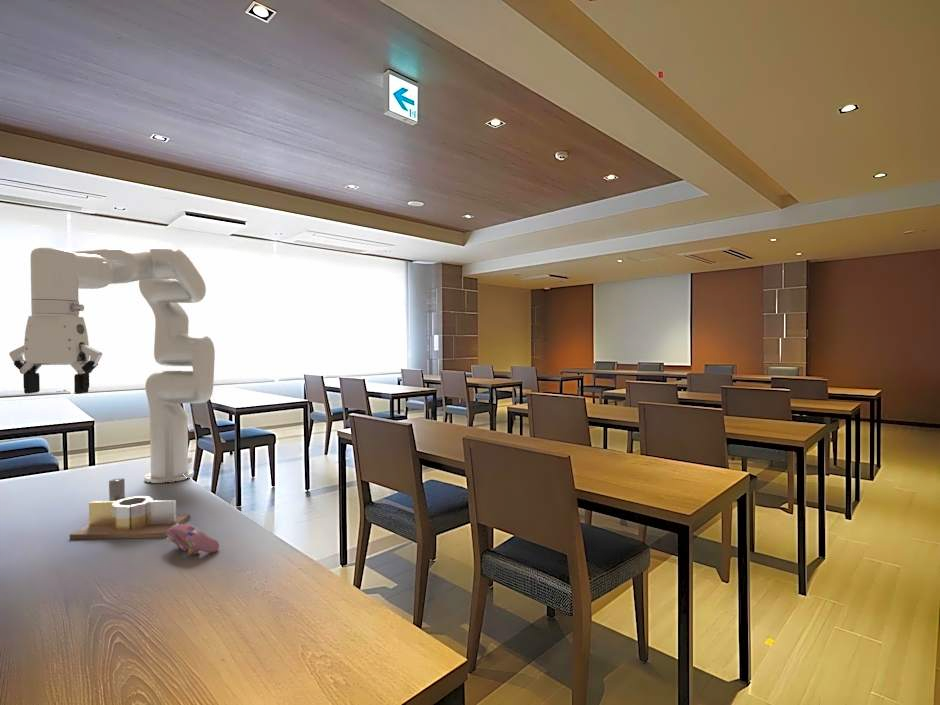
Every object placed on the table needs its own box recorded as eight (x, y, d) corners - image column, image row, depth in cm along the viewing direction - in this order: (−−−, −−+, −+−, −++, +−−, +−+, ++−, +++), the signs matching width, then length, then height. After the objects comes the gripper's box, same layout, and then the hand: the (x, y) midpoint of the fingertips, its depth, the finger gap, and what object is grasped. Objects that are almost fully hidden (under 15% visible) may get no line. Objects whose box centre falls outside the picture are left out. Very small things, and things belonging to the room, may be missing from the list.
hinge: (101, 518, 114) (101, 496, 114) (183, 517, 115) (182, 495, 115) (79, 531, 107) (78, 507, 107) (166, 529, 108) (166, 506, 108)
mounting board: (104, 519, 116) (104, 515, 116) (190, 518, 117) (190, 514, 117) (69, 539, 105) (69, 534, 105) (165, 537, 106) (165, 532, 106)
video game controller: (172, 555, 102) (156, 529, 99) (192, 537, 105) (176, 512, 102) (204, 566, 97) (188, 539, 94) (223, 547, 101) (208, 521, 98)
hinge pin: (114, 511, 121) (114, 478, 121) (127, 511, 121) (127, 478, 121) (106, 516, 118) (106, 482, 118) (120, 515, 118) (119, 482, 118)
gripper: (111, 311, 108) (112, 391, 108) (25, 310, 107) (27, 390, 107) (87, 309, 100) (88, 395, 101) (-6, 308, 99) (-4, 395, 100)
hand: (56, 392), depth 104 cm, fingers open, 9 cm apart
